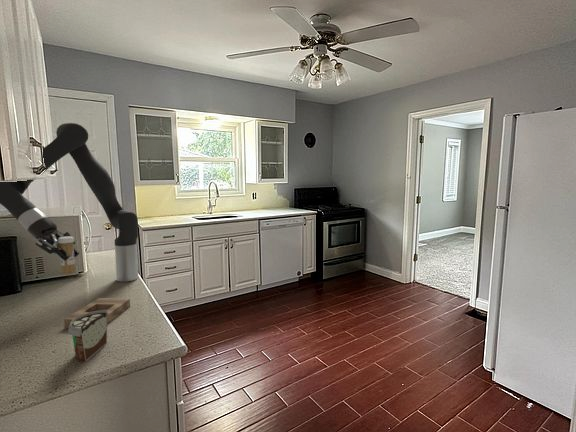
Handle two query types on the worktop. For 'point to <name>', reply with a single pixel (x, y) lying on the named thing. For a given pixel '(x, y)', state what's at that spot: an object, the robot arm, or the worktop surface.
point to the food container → (89, 333)
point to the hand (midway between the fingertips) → (72, 256)
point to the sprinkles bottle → (68, 247)
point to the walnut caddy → (102, 308)
